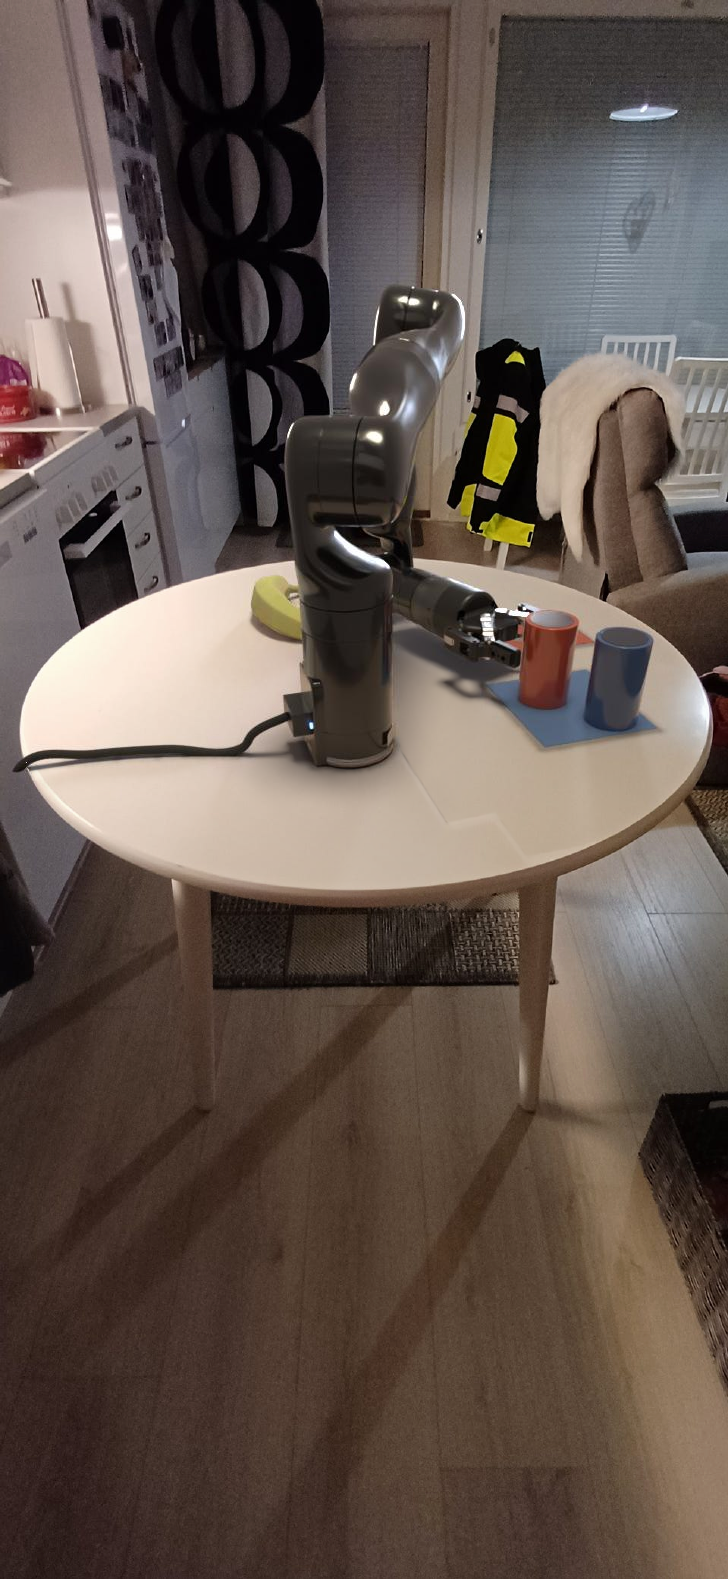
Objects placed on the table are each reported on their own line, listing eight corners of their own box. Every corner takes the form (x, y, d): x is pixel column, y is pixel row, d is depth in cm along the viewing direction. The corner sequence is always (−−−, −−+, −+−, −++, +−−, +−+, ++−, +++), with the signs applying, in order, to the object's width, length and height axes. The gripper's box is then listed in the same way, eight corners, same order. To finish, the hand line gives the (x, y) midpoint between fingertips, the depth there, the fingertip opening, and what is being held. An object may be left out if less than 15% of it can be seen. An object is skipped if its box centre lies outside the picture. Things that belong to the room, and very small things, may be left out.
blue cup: (599, 735, 86) (614, 651, 80) (573, 710, 91) (585, 630, 85) (647, 726, 87) (665, 643, 82) (618, 703, 92) (633, 623, 87)
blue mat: (544, 749, 84) (544, 747, 84) (485, 686, 97) (485, 684, 97) (657, 730, 87) (657, 727, 87) (585, 671, 100) (586, 669, 100)
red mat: (514, 655, 105) (515, 653, 105) (479, 623, 114) (480, 621, 114) (594, 644, 107) (594, 642, 107) (553, 613, 117) (553, 611, 117)
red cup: (530, 713, 91) (540, 632, 85) (509, 690, 95) (516, 613, 90) (576, 705, 92) (589, 625, 86) (553, 684, 97) (563, 607, 91)
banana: (234, 588, 107) (275, 561, 125) (227, 625, 110) (268, 593, 127) (327, 618, 107) (355, 586, 124) (317, 655, 109) (346, 619, 127)
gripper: (410, 595, 96) (503, 635, 85) (494, 571, 103) (590, 605, 92) (409, 651, 100) (498, 696, 89) (489, 624, 107) (581, 663, 96)
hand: (544, 650), depth 91 cm, fingers open, 8 cm apart
